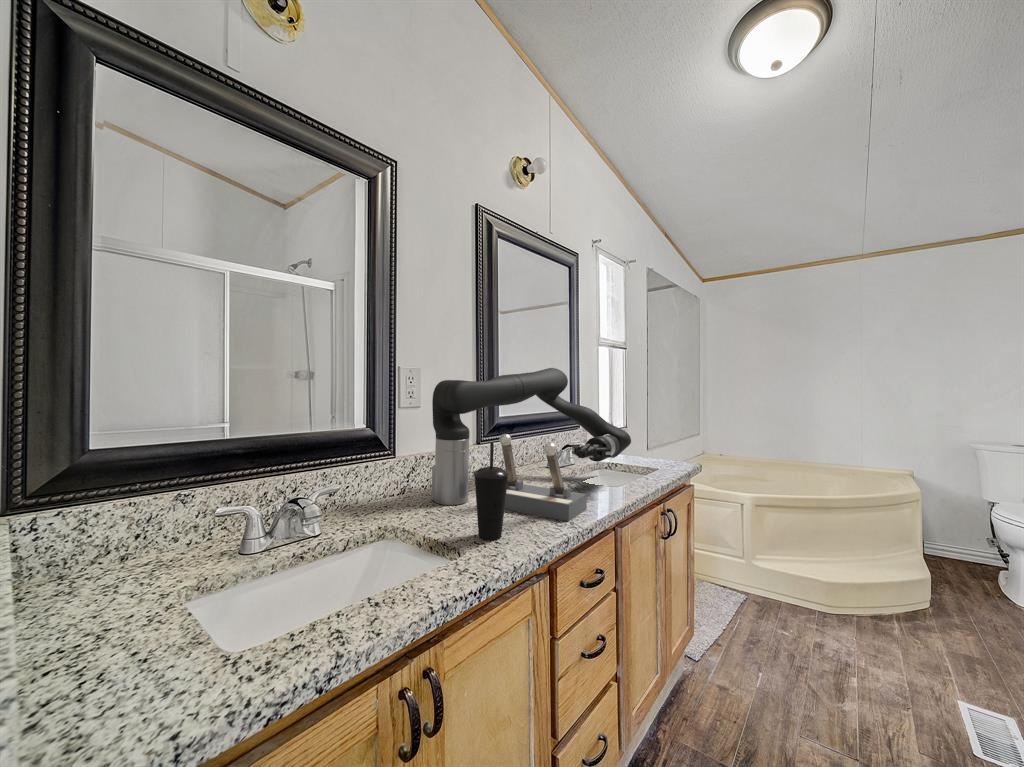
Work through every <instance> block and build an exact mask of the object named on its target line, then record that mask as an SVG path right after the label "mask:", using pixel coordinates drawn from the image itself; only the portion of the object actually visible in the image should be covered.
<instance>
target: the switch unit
mask: <svg viewBox="0 0 1024 767" xmlns="http://www.w3.org/2000/svg"><path fill="white" fill-rule="evenodd" d="M587 498H588V494H587V493H581V492H575V491H572V489H571V487H564V489H563V495H559V494H555V490H554V486H553V485H552V486H549V487H542V486H537V485H532V484H531V485H530V484H524V481H523V480H517V482H516V483H515V487H513V486H509V485H508V480H507V489H506V498H505V508H504V510H507V509H508V510H509V511H513V512H519V513H522V514H523V513H524V514H528V515H534V516H538V517H544V518H549V519H554V520H558V519H559V521H563V520H565V521H564V522H568V521H569V522H570V521H572V520H573V519H574V517H575V518H576V517H577V515H578V516H580V513H581V514H582V513H584V512H585V511H587V510H586V509H588V508H587V507H588V506H587V502H588V499H587ZM583 511H584V512H583ZM571 519H572V520H571Z"/></svg>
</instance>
